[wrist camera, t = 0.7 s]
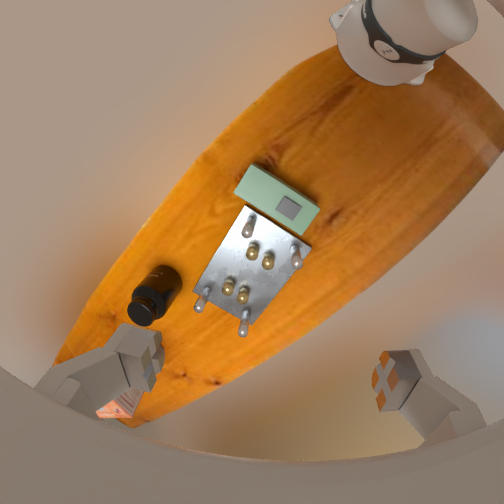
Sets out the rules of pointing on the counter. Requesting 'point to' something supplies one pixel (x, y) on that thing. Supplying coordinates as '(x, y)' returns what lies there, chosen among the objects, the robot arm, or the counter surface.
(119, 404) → the cracker box
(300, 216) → the green rectangular block
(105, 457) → the robot arm
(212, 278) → the chassis
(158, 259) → the counter surface
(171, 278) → the supplement bottle
